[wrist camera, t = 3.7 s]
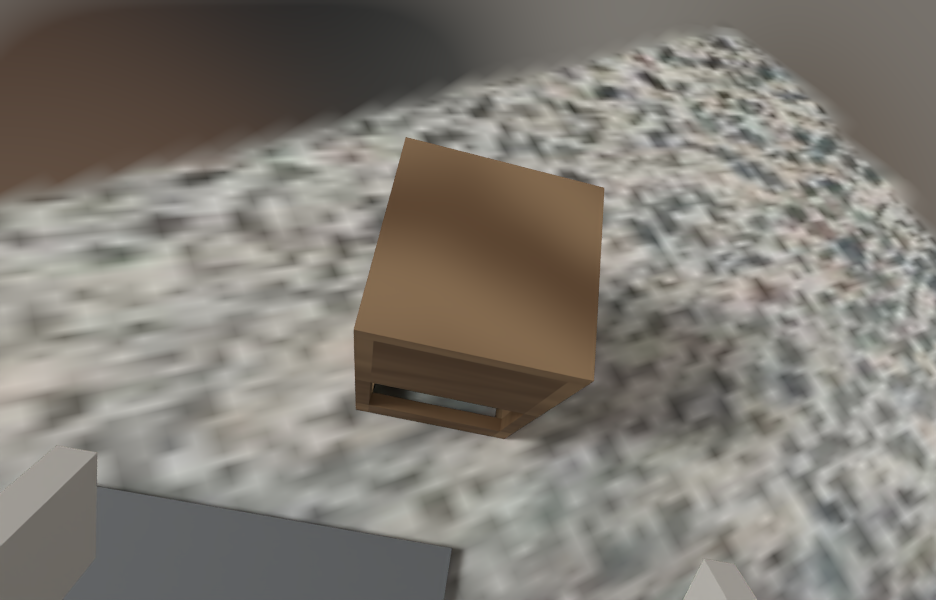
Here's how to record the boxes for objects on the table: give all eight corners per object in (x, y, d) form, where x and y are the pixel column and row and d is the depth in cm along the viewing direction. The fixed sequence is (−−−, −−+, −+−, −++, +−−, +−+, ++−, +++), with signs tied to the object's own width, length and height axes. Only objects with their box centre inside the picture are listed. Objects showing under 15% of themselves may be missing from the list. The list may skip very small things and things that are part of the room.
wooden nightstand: (504, 438, 26) (593, 381, 16) (355, 409, 25) (353, 329, 15) (520, 305, 29) (604, 187, 19) (389, 275, 28) (406, 137, 18)
